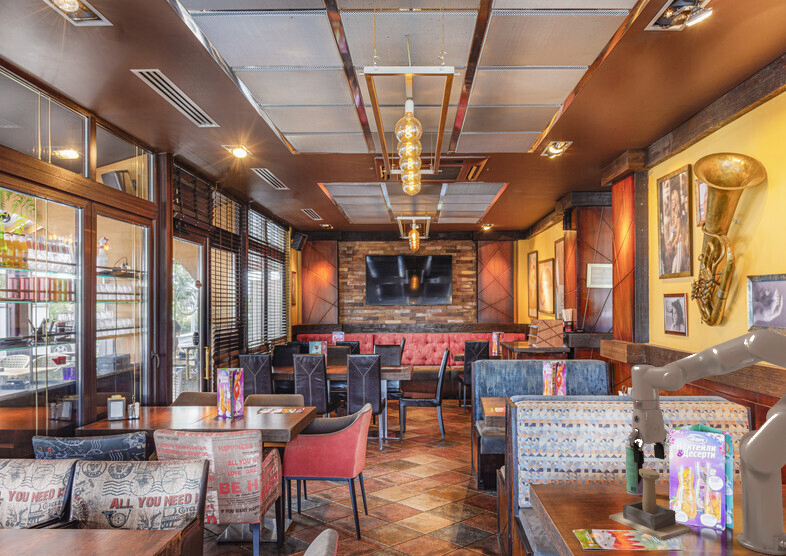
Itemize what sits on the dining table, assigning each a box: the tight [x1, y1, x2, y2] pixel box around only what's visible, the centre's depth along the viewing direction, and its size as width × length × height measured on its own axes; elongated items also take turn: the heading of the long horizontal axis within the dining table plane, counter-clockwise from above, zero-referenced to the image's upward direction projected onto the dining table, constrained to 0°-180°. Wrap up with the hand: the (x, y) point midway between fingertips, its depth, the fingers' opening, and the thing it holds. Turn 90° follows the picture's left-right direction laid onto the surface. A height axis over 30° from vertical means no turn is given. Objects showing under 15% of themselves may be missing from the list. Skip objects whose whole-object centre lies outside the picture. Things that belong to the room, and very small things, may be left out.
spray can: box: [625, 441, 644, 497], centre depth 194 cm, size 6×6×20 cm
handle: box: [639, 468, 660, 515], centre depth 166 cm, size 5×6×15 cm
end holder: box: [608, 500, 692, 541], centre depth 165 cm, size 18×14×5 cm
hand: (649, 460), depth 166 cm, fingers open, 9 cm apart
